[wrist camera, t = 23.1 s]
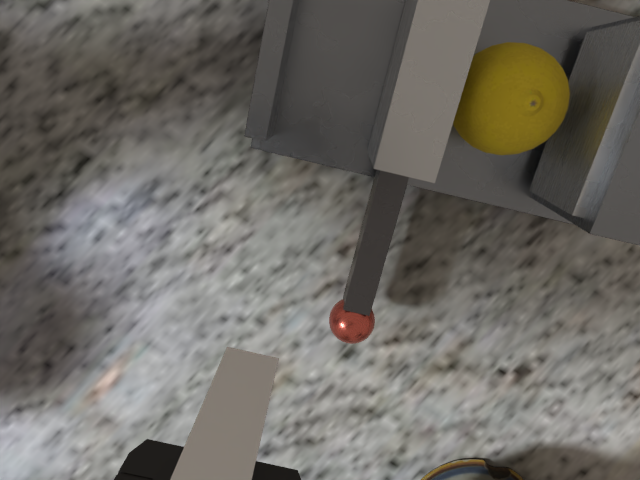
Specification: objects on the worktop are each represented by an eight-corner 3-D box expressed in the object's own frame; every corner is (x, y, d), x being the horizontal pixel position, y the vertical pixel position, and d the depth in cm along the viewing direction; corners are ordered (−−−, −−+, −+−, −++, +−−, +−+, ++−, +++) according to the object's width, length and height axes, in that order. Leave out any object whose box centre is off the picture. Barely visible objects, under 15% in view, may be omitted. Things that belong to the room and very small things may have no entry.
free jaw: (324, 316, 34) (319, 373, 28) (408, -9, 28) (428, -38, 22) (367, 326, 34) (373, 385, 28) (460, 4, 28) (496, -21, 22)
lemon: (441, 151, 31) (473, 174, 23) (433, 56, 29) (465, 46, 22) (534, 138, 30) (598, 157, 23) (531, 40, 29) (599, 24, 21)
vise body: (253, 145, 32) (220, 168, 24) (293, -63, 29) (270, -127, 20) (570, 220, 33) (652, 270, 24) (646, 25, 29) (776, 0, 21)
